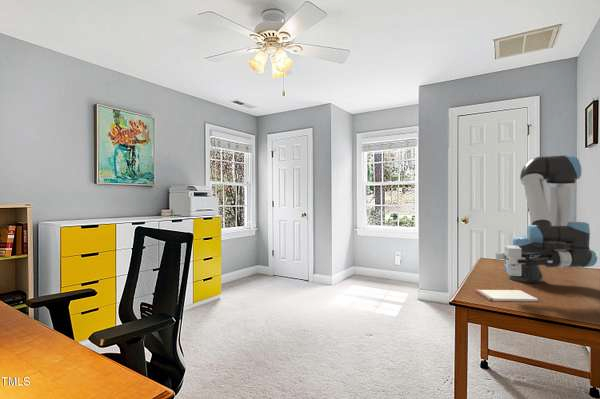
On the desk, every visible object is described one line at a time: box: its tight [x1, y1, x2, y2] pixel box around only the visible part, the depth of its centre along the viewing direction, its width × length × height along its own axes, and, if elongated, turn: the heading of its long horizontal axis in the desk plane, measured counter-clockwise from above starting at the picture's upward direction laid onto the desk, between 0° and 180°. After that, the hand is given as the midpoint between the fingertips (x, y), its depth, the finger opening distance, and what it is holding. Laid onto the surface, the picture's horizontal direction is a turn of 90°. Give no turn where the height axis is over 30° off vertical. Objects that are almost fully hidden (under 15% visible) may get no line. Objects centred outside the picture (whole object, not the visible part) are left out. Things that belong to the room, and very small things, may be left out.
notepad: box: [475, 289, 539, 302], centre depth 152 cm, size 20×13×1 cm, turn 86°
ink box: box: [503, 245, 522, 276], centre depth 148 cm, size 8×5×12 cm, turn 160°
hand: (502, 258), depth 148 cm, fingers closed on ink box, 9 cm apart
